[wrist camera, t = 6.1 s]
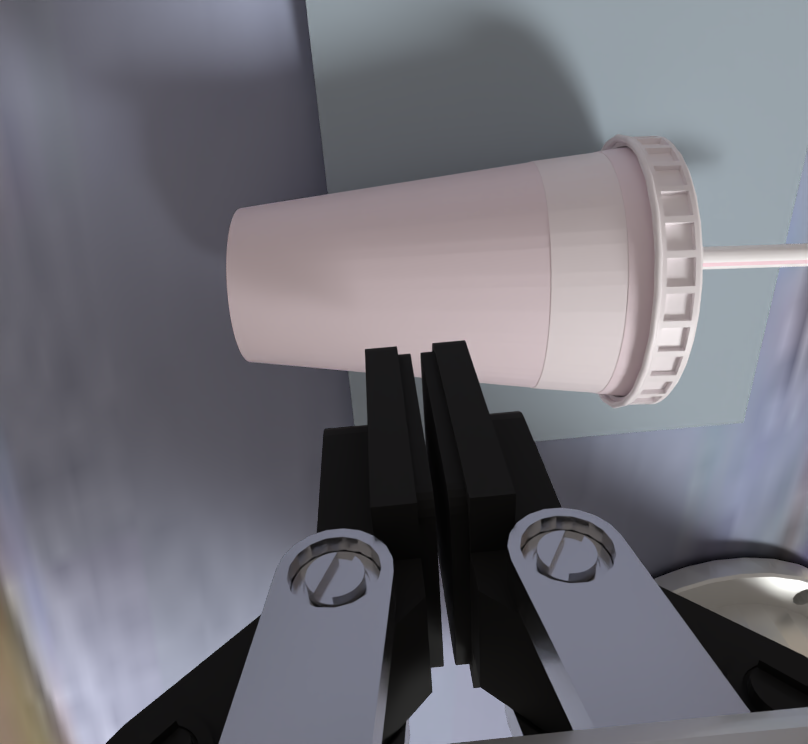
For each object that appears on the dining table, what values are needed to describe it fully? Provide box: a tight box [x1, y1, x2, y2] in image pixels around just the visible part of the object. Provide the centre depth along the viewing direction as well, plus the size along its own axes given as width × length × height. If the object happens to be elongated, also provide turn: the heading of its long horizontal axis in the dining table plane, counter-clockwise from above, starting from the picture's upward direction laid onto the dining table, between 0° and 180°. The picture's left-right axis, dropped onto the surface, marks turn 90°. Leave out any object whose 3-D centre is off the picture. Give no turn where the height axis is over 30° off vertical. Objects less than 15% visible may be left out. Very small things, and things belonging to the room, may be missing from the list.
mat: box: [306, 0, 808, 445], centre depth 19 cm, size 13×14×1 cm
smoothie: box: [226, 134, 808, 408], centre depth 16 cm, size 6×6×14 cm
